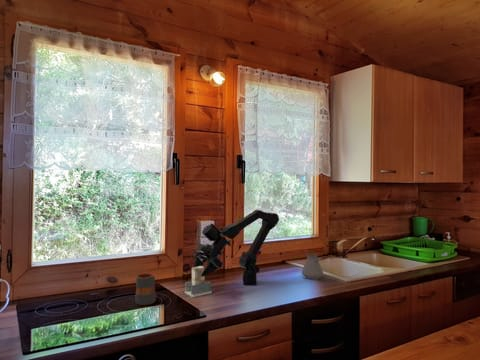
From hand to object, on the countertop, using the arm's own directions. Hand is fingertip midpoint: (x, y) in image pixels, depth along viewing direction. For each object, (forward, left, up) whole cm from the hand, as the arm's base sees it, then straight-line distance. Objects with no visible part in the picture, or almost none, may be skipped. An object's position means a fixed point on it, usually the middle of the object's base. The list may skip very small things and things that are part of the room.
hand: (196, 273), depth 176 cm
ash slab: (0, 0, -8) cm, 8 cm away
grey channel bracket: (0, 0, -9) cm, 9 cm away
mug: (+20, +15, -9) cm, 26 cm away
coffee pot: (-57, -31, -9) cm, 66 cm away
